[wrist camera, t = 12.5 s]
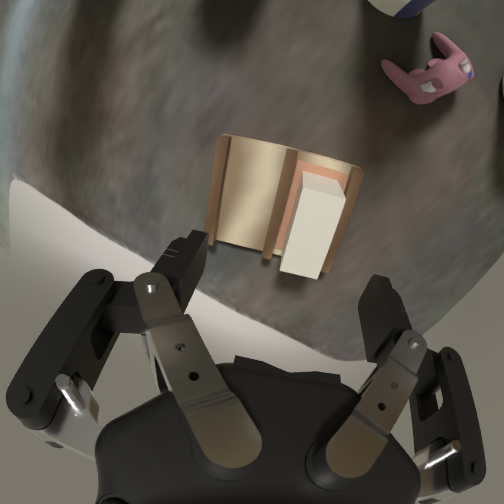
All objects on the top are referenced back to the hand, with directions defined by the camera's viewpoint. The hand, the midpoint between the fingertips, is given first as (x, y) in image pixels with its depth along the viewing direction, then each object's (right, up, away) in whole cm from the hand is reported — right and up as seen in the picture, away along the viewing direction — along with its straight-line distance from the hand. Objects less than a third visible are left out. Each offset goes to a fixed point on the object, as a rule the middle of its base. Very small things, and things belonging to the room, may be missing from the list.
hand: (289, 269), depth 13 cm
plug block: (+5, +5, +18) cm, 20 cm away
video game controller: (+17, +21, +9) cm, 28 cm away
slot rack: (+2, +7, +20) cm, 21 cm away
